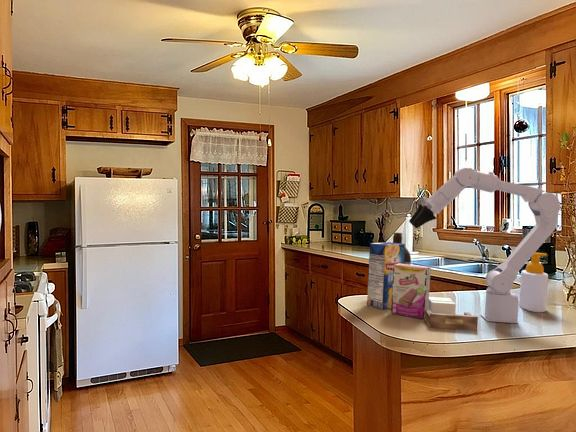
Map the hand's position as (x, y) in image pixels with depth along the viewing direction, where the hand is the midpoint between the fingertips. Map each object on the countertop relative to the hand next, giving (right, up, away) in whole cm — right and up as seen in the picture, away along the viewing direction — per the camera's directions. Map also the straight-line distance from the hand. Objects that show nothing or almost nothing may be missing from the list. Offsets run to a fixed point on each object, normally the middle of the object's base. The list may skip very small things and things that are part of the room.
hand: (412, 224), depth 158 cm
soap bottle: (+48, -31, +15) cm, 59 cm away
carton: (+10, -30, +2) cm, 32 cm away
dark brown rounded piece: (-1, -29, +23) cm, 37 cm away
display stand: (+8, -30, -13) cm, 34 cm away
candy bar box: (-2, -30, -3) cm, 30 cm away
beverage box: (-7, -29, +10) cm, 32 cm away
